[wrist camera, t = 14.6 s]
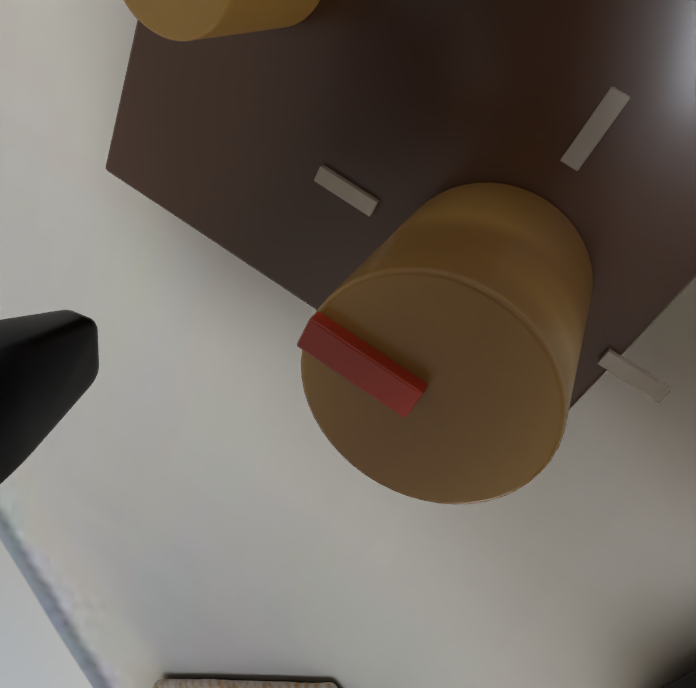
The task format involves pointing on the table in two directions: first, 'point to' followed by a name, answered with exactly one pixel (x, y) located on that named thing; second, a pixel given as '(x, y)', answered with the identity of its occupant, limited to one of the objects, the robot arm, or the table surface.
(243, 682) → the decorative jar
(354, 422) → the rotary control knob
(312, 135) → the brown rectangular block
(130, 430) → the table surface
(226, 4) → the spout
